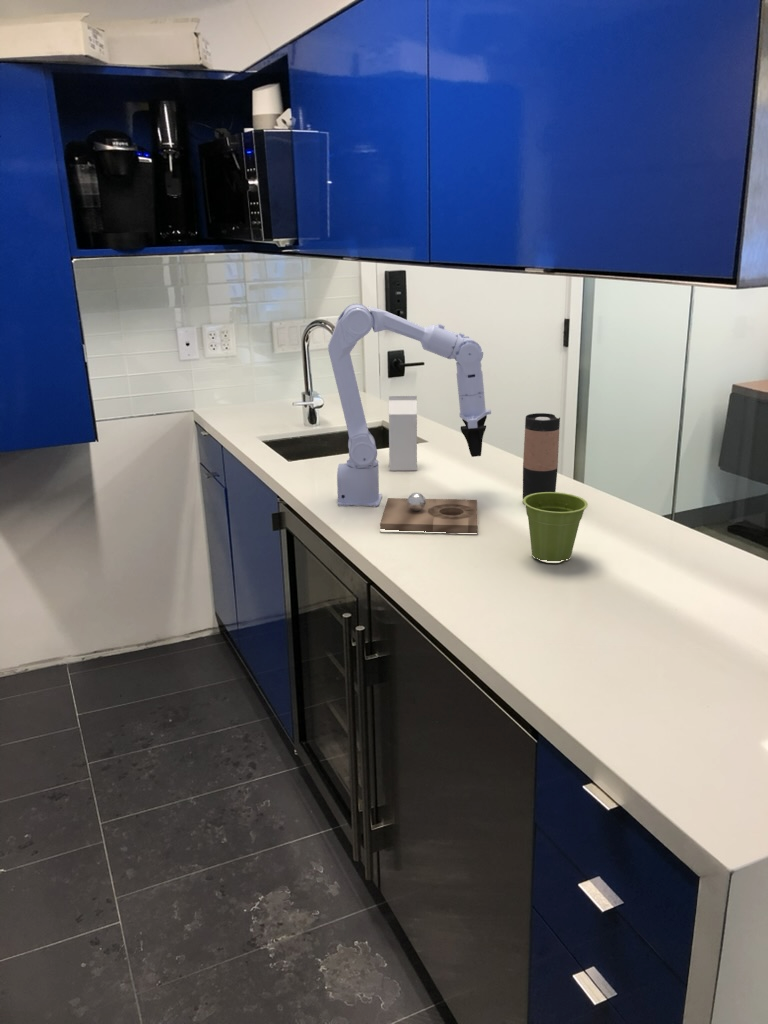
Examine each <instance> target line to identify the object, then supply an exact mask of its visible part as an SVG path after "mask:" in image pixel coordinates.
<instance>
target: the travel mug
mask: <svg viewBox="0 0 768 1024" xmlns="http://www.w3.org/2000/svg"><path fill="white" fill-rule="evenodd" d="M524 420H525V421H524V424H525V425H524V439H523V440H524V442H523V462H522V500H523V499H524V497H526V496H528V495H530V494H534V493H541V492H556V489H557V481H558V480H557V479H558V469H559V467H558V465H559V446H560V428H561V427H560V426H561V425H560V424H561V423H560V421H561V417H556V415H555V414H552V413H544V412H543V413H542V412H541V413H539V412H538V413H537V412H536V413H530V414H527V415H526V416H525V418H524ZM522 504H524V503H523V502H522Z"/></svg>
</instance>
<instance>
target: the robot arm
mask: <svg viewBox="0 0 768 1024" xmlns="http://www.w3.org/2000/svg"><path fill="white" fill-rule="evenodd" d="M371 330H373V332H374V333H377V332H383V331H390V332H392V333H395V334H398V335H400V336H404V337H407V338H410V339H411V340H412V339H413V340H414V341H418V342H419V343H420V344H421V345H420V346H421V347H422V349H423V350H424V351H427V352H430V353H433V354H435V355H438V356H440V357H442V358H445V359H448V360H455V361H456V362H455V363H456V364H455V365H456V382H457V383H456V384H457V392H458V393H457V394H458V401H459V402H458V403H459V404H458V405H459V411H460V412H459V417H460V419H462V422H463V424H464V425H461V426H460V431H461V433H462V435H463V436H464V439H465V440H466V444H467V448H468V450H469V453H470V455H471V458H474V457H481V456H482V452H483V451H482V450H483V438H484V435H485V431H486V429H487V425H485V423H486V420H487V417H488V416H487V415H491V414H492V410H491V409H487V408H486V399H485V388H484V387H485V386H484V377H483V376H484V375H483V371H482V360H483V358H484V352H483V351H482V347H481V345H480V344H479V343H478V342H477V341H475V339H472V338H471V337H469V336H466V335H465V334H464V333H462V332H459V333H456V332H454V331H451V330H448V329H446V328H445V325H444V324H441V323H438V324H437V325H436V324H430V325H428V326H426V327H424V326H422V325H420V324H417V323H415V322H413V321H410V320H408V319H406V318H403V317H401V316H398V315H396V314H394V313H391V312H389V311H387V310H384V309H380V308H376V307H374V306H368V308H367V306H365V305H363V304H362V303H352V304H349V305H347V306H346V307H345V308H344V310H343V311H342V312H341V314H339V316H338V317H337V321H336V323H335V326H334V328H333V332H332V334H331V336H330V339H329V342H328V347H327V349H328V355H329V358H330V363H331V367H332V371H333V374H334V375H333V376H334V380H335V383H336V384H335V385H336V388H337V390H338V391H337V392H338V396H339V400H340V404H341V409H342V412H343V415H344V417H343V418H344V420H345V425H346V429H347V434H348V442H347V447H348V456H349V458H348V459H347V460H346V462H345V463H339V464H338V465H337V472H336V473H337V474H336V480H337V481H336V483H337V484H336V485H337V487H336V488H337V505H338V506H349V505H364V506H363V507H378V506H380V504H381V501H382V497H383V494H382V493H380V484H379V483H380V481H379V479H380V478H379V477H380V476H379V460H378V459H377V457H378V450H377V446H376V440H375V437H374V436H373V435H372V434H371V432H370V431H369V429H368V428H369V427H368V424H367V420H366V416H365V411H364V408H363V403H362V400H361V399H362V398H361V394H360V390H359V387H358V382H357V381H358V380H357V378H356V374H355V370H354V366H353V361H352V356H351V352H352V350H354V348H355V346H356V345H357V344H358V342H359V341H360V340H361V339H362V338H365V336H367V335H368V334H369V333H370V332H371ZM366 505H368V506H366Z"/></svg>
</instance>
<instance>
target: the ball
mask: <svg viewBox="0 0 768 1024" xmlns="http://www.w3.org/2000/svg"><path fill="white" fill-rule="evenodd" d="M407 498H408V499H407V505H408V507H409V508H410V509H411V510H413V511H420V510H422V509H423V508H424V507H425V504H426V500H425V499H426V497H425V496H424V494H422V493H421V492H414V493H411V494H409V496H408V497H407Z"/></svg>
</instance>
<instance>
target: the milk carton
mask: <svg viewBox="0 0 768 1024" xmlns="http://www.w3.org/2000/svg"><path fill="white" fill-rule="evenodd" d="M417 397H418V395H389V396H388V443H389V444H388V449H389V450H388V456H389V457H388V458H389V459H388V460H389V461H388V463H389V466H388V467H389V469H388V470H389V472H390V471H392V472H393V471H394V472H395V471H417V470H418V405H417V404H418V403H417V401H418V398H417Z"/></svg>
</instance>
